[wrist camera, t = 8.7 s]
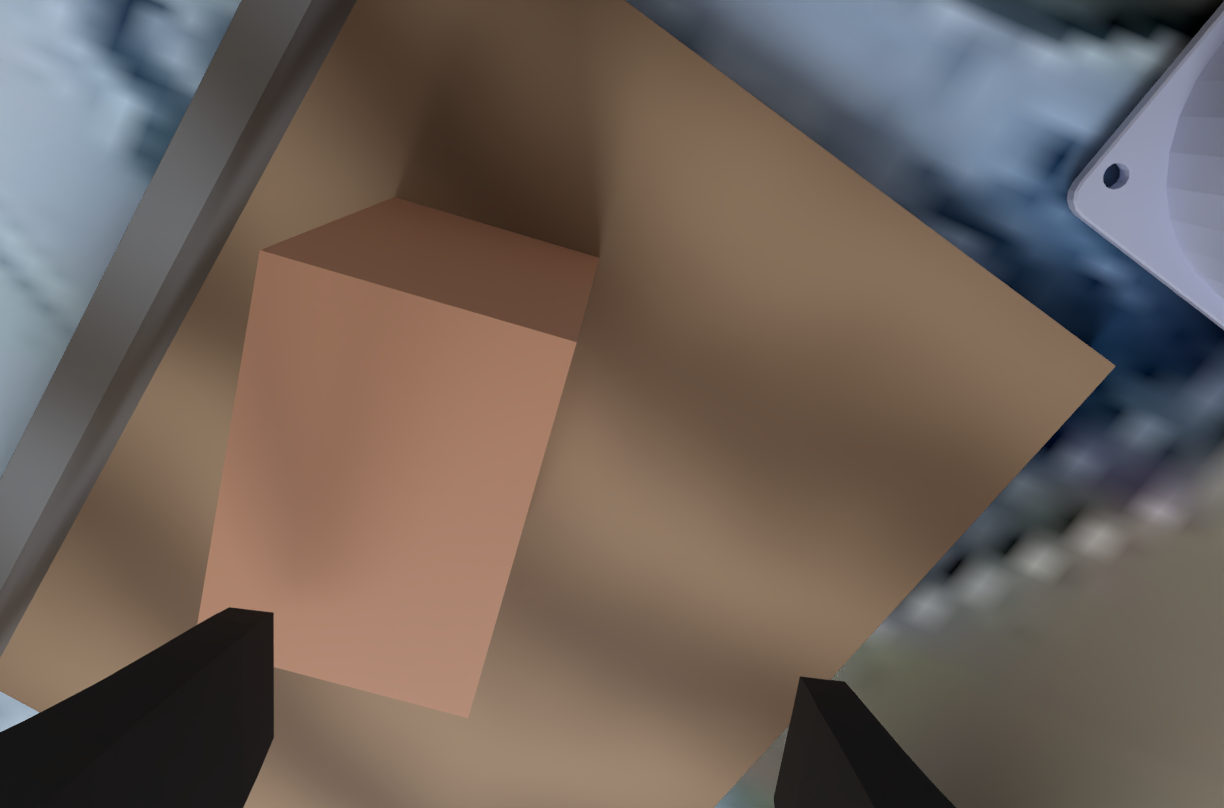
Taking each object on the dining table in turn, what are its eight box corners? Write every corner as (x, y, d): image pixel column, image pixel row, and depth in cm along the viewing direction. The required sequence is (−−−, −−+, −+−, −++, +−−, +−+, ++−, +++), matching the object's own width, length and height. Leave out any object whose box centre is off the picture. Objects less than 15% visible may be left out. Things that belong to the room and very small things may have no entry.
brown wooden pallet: (398, -163, 18) (344, -221, 15) (1089, 351, 21) (1172, 398, 17) (-22, 634, 24) (-126, 718, 21) (555, 948, 27) (543, 1065, 24)
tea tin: (599, 258, 19) (576, 341, 12) (523, 523, 21) (468, 718, 14) (392, 196, 19) (255, 248, 12) (334, 471, 21) (190, 645, 14)
